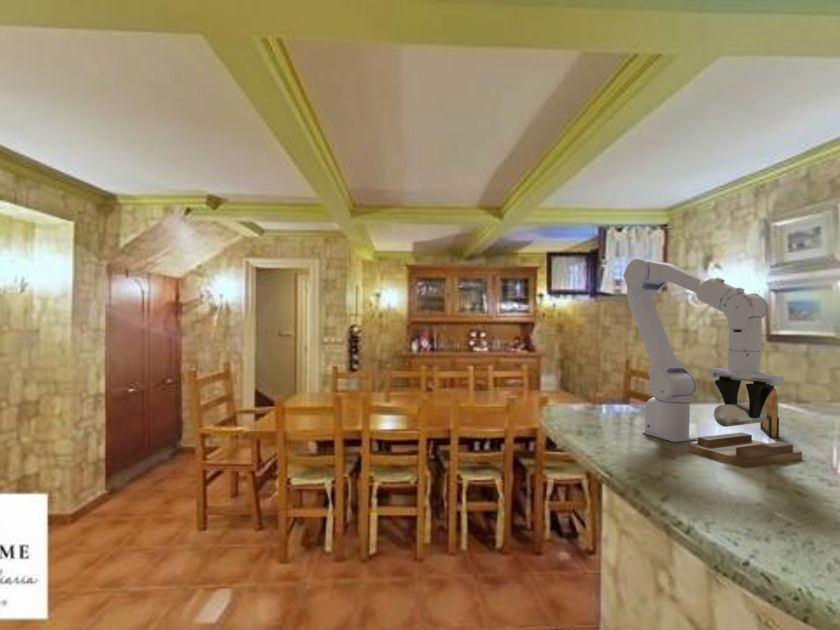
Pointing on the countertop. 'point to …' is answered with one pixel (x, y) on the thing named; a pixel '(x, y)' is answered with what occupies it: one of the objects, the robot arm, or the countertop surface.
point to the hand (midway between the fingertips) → (742, 415)
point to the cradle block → (744, 450)
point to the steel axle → (736, 415)
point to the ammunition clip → (771, 416)
